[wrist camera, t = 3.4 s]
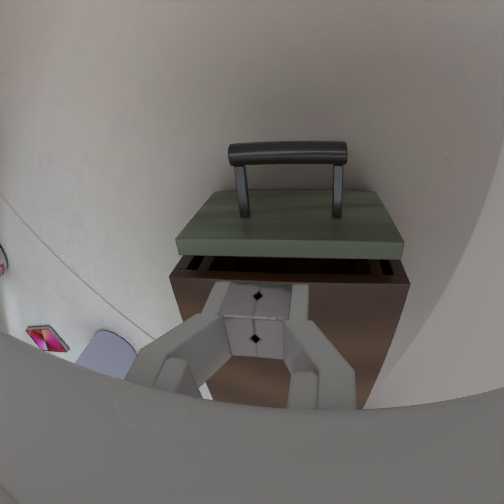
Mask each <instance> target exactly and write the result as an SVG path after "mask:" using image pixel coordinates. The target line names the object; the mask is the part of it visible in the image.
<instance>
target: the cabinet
mask: <svg viewBox="0 0 504 504" xmlns="http://www.w3.org/2000/svg"><path fill="white" fill-rule="evenodd" d="M204 258H205V256H200V255H183V256H182V258H181V259H180V261H179V262H178V264H177V265H176V267H175V268H174V270H173V271H172V273H171V274H170V276H169V279H170V282H171V285H172V289H173V292H174V295H175V298H176V301H177V304H178V307H179V310H180V313H181V316H182V319H183V322H184V321H186V320H187V319H189V318H190V317H192V316H193V315H195V314H196V313H199V314H201V313H202V310H203V308H204V306H205V304H206V301H207V299H208V297H209V295H210V293H211V290H212V288H213V286H214V284H215V283H216V282H217V281H228V282H245V283H261V284H288V285H293V284H308V285H309V301H308V320H312V321H313V322H314V323H315V324H316V325H317V326H318V328H319V329H320V330H321V331H322V332H323V334H324V335H325V336H326V337H327V338H328V340H329V341H330V342H331V343H332V344H333V345H334V347H335V348H336V349H337V350H338V351H339V353H340V354H341V355H342V356H343V357H344V359H345V360H346V361H347V362H348V363H349V365H350V366H351V367H352V368H353V369H354V371H355V382H356V404H357V410H359V409H363V407H364V405H365V403H366V401H367V399H368V397H369V394H370V392H371V390H372V388H373V386H374V384H375V381H376V379H377V377H378V374H379V372H380V370H381V367H382V365H383V362H384V360H385V358H386V355H387V352H388V350H389V347H390V345H391V342H392V339H393V337H394V334H395V331H396V328H397V325H398V322H399V319H400V316H401V313H402V310H403V307H404V304H405V301H406V297H407V294H408V290H409V287H410V282H409V279H408V277H407V275H406V272H405V270H404V267H403V265H402V263H401V260H390V259H378V260H379V263H380V266H381V269H382V273H383V275H343V274H296V273H261V272H233V271H207V270H198V268H199V266H200V265H201V263H202V261H203V259H204ZM231 356H232V357H231V358H230V359H229V360H228V361H227V362H226V363H225V364H224V365H223V366H221V367H220V368H219V369H218V370H217V371H216V372H215V373H214V374H213V375H212V376H211V377H210V378H209V379H208V380H207V381H206V384H207V386H208V389H209V391H210V393H211V396H212V398H213V400H215V401H221V402H228V403H235V404H243V405H251V406H261V407H272V408H287V401H288V394H289V387H290V380H291V373H290V371H289V370H288V368H287V366H286V364H285V362H284V359H272V358H262V357H249V356H235V355H231Z"/></svg>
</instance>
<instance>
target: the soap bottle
mask: <svg viewBox="0 0 504 504" xmlns="http://www.w3.org/2000/svg"><path fill="white" fill-rule="evenodd" d="M135 358H136V353H135V351H134V350H133V349H132V347H131V346H130V345H129V344H128V343H127V342H126V341H125V340H123V339H122V338H120V337H119V336H117V335H116V334H113V333H111V332H108V331H99V332H97V333H96V334H95V335H94V336H93V338H92V339H91V341H90V342H89V344H88V345H87V347H86V348H85V350H84V351H83V352H82V354H81V355H80V357H79V358H78V360H77V361H76V363H75V364H77V365H80V366H83V367H85V368H88V369H91V370H94V371H97V372H100V373H103V374H106V375H109V376H112V377H116V378H119V379H122V380H124V378H125V376H126V374H127V373H128V371H129V369H130V367H131V365H132V363H133V362H134V360H135Z"/></svg>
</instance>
